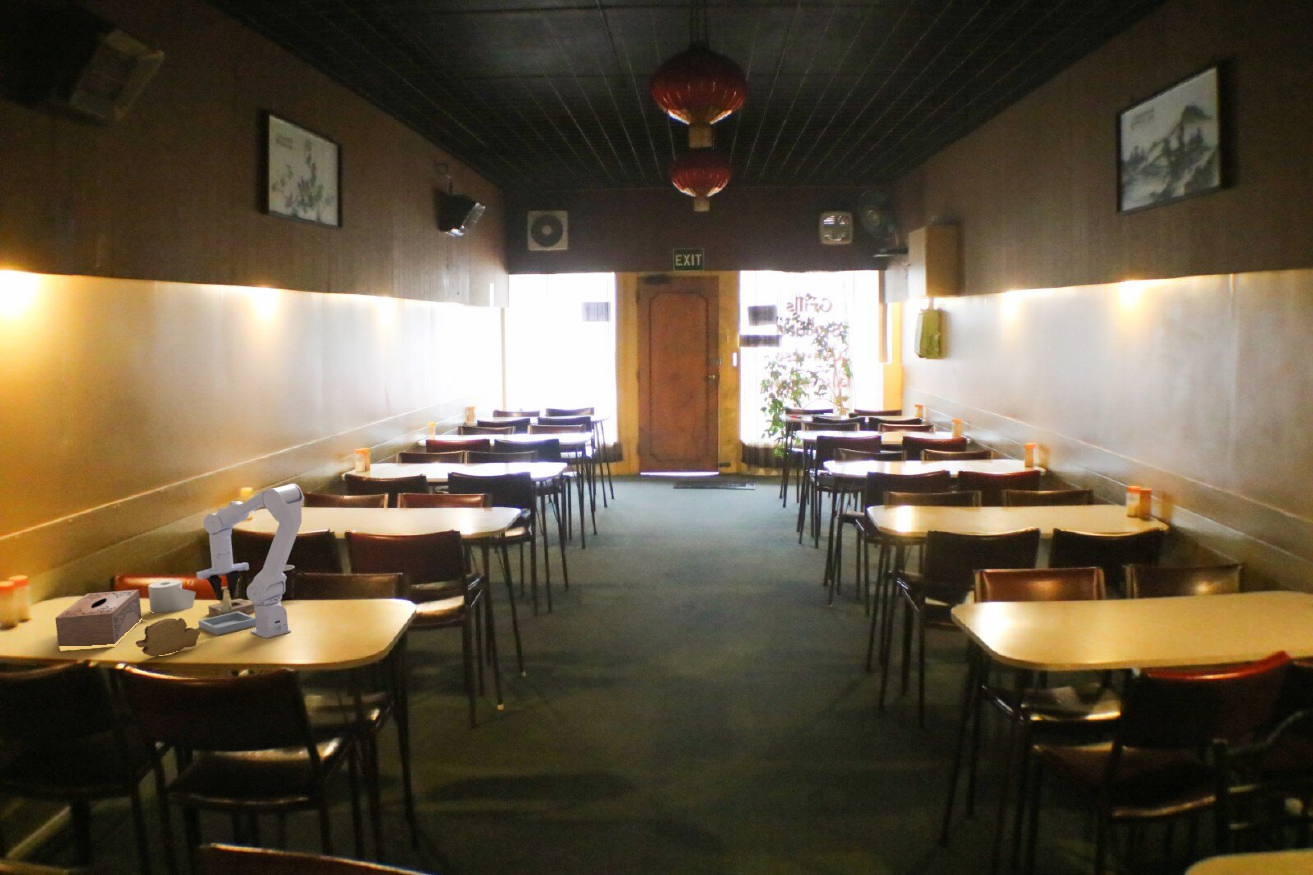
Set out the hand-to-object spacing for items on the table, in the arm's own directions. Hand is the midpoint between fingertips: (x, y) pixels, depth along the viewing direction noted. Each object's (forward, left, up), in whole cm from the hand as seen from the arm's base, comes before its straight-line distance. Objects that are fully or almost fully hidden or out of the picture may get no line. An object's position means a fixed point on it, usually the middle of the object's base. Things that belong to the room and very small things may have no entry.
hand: (225, 598), depth 308 cm
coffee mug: (+16, -26, -9) cm, 32 cm away
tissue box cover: (+23, +27, -9) cm, 37 cm away
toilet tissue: (+34, +3, -9) cm, 35 cm away
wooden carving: (-11, +21, -9) cm, 25 cm away
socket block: (+13, -7, -9) cm, 17 cm away
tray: (0, 0, -9) cm, 9 cm away
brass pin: (0, 0, -4) cm, 4 cm away
